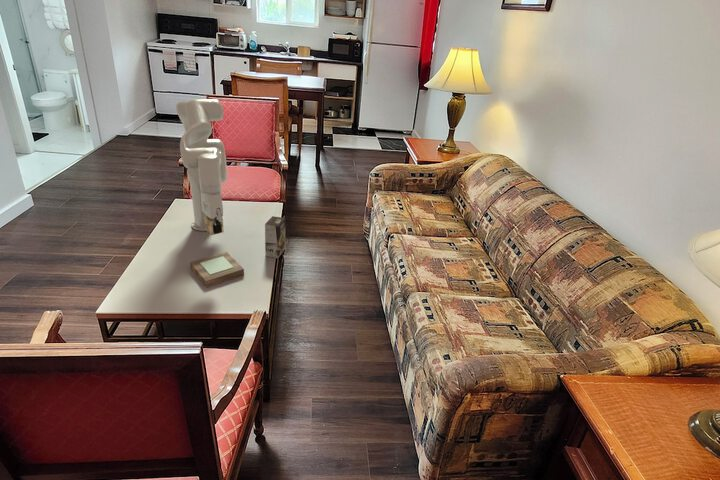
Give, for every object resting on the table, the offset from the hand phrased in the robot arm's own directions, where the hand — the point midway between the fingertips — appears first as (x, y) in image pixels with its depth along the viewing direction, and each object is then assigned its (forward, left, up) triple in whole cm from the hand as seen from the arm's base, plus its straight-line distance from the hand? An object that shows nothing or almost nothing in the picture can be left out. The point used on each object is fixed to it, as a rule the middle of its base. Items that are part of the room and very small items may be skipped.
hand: (214, 229), depth 168 cm
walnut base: (0, 0, -20) cm, 20 cm away
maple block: (0, 0, -1) cm, 1 cm away
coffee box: (-1, +28, -20) cm, 34 cm away
